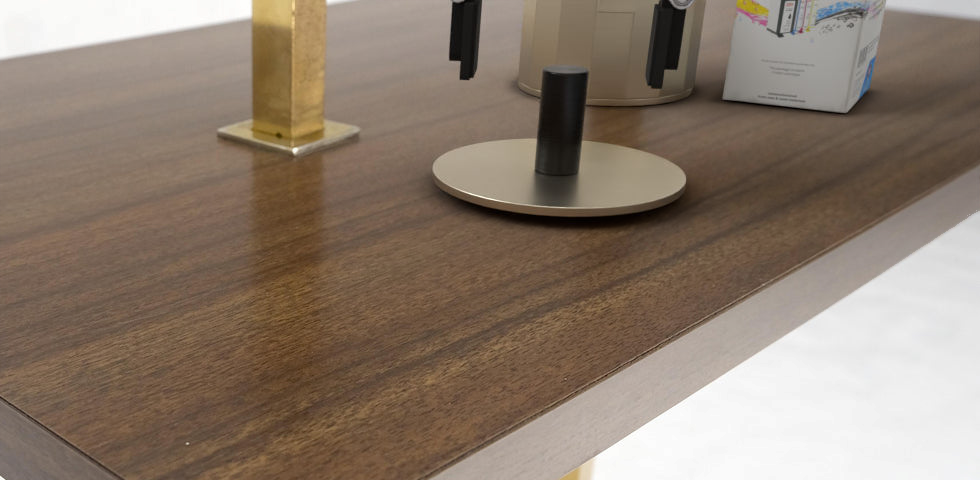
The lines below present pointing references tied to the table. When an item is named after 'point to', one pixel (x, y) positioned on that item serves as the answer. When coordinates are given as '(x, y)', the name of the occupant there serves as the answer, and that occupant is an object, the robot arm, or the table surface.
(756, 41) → the ink box
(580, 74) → the lid
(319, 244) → the table surface
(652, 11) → the pot
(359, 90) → the table surface
